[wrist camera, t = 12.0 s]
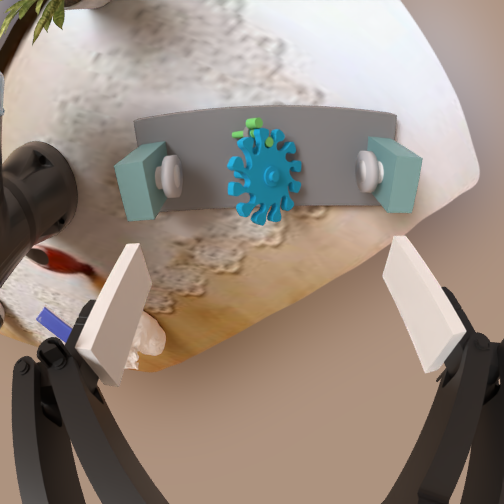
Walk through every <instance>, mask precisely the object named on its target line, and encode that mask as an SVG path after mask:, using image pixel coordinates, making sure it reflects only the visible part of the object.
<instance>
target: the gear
mask: <svg viewBox="0 0 504 504" xmlns="http://www.w3.org/2000/svg"><path fill="white" fill-rule="evenodd" d="M262 125H263V121H262V119H261V118H259V117H258V118H251V119H247V120H246V127H245V128H244V130H243V131H237V132H233V133H232V137H233V138H241V139H240V140H238V141H237V145H238V147H239V148H240V149H241V150H242V152H243V153H244V155H245V159H246V168H245V167H244V163H243V160H242V158H241V157H238V156H234V157H231V158H230V160H229V162H228V164H227V168H228V169H229V170H231V171H234V177H235V178H239V179H244V180H245V184H244V186H242V184H241V183H239V182H229V183H228V195H230V196H239V195H241V194H243V193H248V194H249V195H250V200H249V202H248V203H243V202H240V203H238V204H237V205H236V209H237V212H238V214H239V215H240V216H243V217H248V216H249V215H250V213H251V211H252V210H253V208H254V207H255V206H256V205H258V204H260V209H259V211H257V212H255V213H253V215H252V216H251V221H252V222H254V223H256V224H258V225H262V226H263V225H264V224H265V222H266V215H267V212H268V210H269V208H270V206H271V205H272V208H271V210H270V212H269V213H268V216H267V219H268V220H269V221H273V222H279V221H281V213H280V202H281V209H282V210H286V211H289V210H291V209H292V208H293V206H294V202H293V200H292V199H291V198H290V196H289V193H288V187H289V191H290V192H294V193H298V192H299V190H300V187H301V183H300V182H299V181H295V180H294V179H293V178H292V177H291V175H290V173H289V170H291V171H292V172H301V161H295V160H293V161H291V162H288V161H287V160H286V157H285V156H286V153H289V154H294V153H295V152H296V147H295V144H294V142H285V143H284V145H283V147H282V148H281V149H280V150H277V143H278V142H280V141H283V140H284V138H285V135H284V133H283V132H282V131H281V130H280V129H273V130H272V131H271V134H270V137H268V136H269V130H268V129H266V128H261V127H262ZM281 198H282V201H281Z"/></svg>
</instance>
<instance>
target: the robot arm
mask: <svg viewBox="0 0 504 504" xmlns="http://www.w3.org/2000/svg"><path fill="white" fill-rule="evenodd" d="M3 94H4V77H3V74H2V73H1V72H0V288H1V287H2V285H3V284H4V282H5V281H6V280H7V278H8V277H9V276H10V274H11V273H12V272H13V270H14V269H15V268H16V266H17V265H18V264H19V262H20V261H21V260H22V259H23V257H24V256H25V255H26V254H27V252H28V251H29V250H30V249H31V248H32V247H33V246H34V245H36V244H38V243H40V242H42V241H44V240H46V239H48V238H51V237H53V236H55V235H57V234H58V233H60V232H61V231H62V230H63V229H64V228H65V227H66V226H67V225H68V224H69V222H70V221H71V220H72V218H73V216H74V214H75V211H76V207H77V187H76V183H75V179H74V176H73V173H72V171H71V169H70V167H69V165H68V163H67V162H66V160H65V159H64V157H63V156H62V155H61V154H60V153H59V152H58V151H57V150H56V149H55V148H53V147H52V146H50V145H49V144H46V143H44V142H39V141H33V142H29V143H26V144H24V145H23V146H21V147H19V148H17V149H16V150H14V151H13V152H12V153H11V154H10V155H9V157H8V158H7V159H6V160H5V162H4V163H3V164H2V115H4V109H3ZM382 277H383V279H384V281H385V283H386V284H387V287H388V289H389V291H390V293H391V295H392V297H393V299H394V301H395V303H396V305H397V307H398V310H399V312H400V314H401V316H402V318H403V321H404V323H405V325H406V328H407V330H408V332H409V334H410V337H411V339H412V342H413V344H414V347H415V349H416V352H417V354H418V357H419V359H420V362H421V364H422V367H423V369H424V372H425V373H428V372H432V371H436V370H438V369H439V368H440V367H441V365H442V364H443V363H445V366H446V369H445V370H444V371H443V372H442V374H441V375H440V376H439V377H438V378H437V380H436V382H438V381H439V380H440V379H441V382H440V384H439V387H438V390H437V393H436V396H435V399H434V402H433V405H432V407H431V409H430V412H429V415H428V417H427V420H426V422H425V424H424V427H423V429H422V431H421V434H420V436H419V438H418V440H417V442H416V444H415V447H414V449H413V451H412V453H411V455H410V457H409V459H408V461H407V463H406V465H405V467H404V468H403V470H402V472H401V474H400V475H399V477H398V479H397V481H396V482H395V484H394V486H393V487H392V489H391V491H390V493H389V494H388V496H387V497H386V499H385V500H384V501H383V502H382V503H381V504H449V499H450V497H451V495H452V493H453V491H454V489H455V486H456V484H457V482H458V479H459V477H460V475H461V472H462V470H463V467H464V464H465V462H466V459H467V456H468V453H469V450H470V447H471V454H470V460H469V466H468V472H467V477H466V481H465V486H464V490H463V495H462V499H461V503H460V504H504V339H503V340H502V342H501V343H495V342H490V340H489V339H488V338H487V337H486V336H485V335H484V334H482V333H478V332H477V333H476V332H475V330H474V329H473V327H472V325H471V323H470V321H469V320H468V318H467V316H466V314H465V313H464V311H463V310H462V309H461V306H460V304H459V303H458V301H457V299H456V298H455V296H454V295H453V293H452V292H451V291H450V290H448V289H447V288H446V287H441V286H440V285H439V284H438V282H437V280H436V279H435V277H434V276H433V274H432V273H431V271H430V270H429V268H428V267H427V265H426V264H425V262H424V261H423V259H422V258H421V256H420V255H419V253H418V252H417V251H416V249H415V248H414V247H413V245H412V244H411V242H410V241H409V240H408V238H407V237H406V236H394V237H393V241H392V245H391V248H390V252H389V255H388V259H387V262H386V265H385V269H384V272H383V276H382ZM151 286H152V281H151V278H150V275H149V272H148V269H147V265H146V262H145V259H144V256H143V252H142V249H141V246H140V243H135V244H127V245H126V246H125V248H124V250H123V251H122V253H121V255H120V257H119V259H118V260H117V262H116V264H115V266H114V268H113V269H112V271H111V273H110V275H109V277H108V279H107V281H106V283H105V284H104V286H103V288H102V290H101V292H100V294H99V296H98V298H97V300H90V301H89V302H88V303H87V304H86V305H85V306H84V307H83V308H82V310H81V312H80V314H79V318H77V320H76V322H75V325H74V327H73V329H72V331H71V333H70V335H69V337H68V339H67V342H66V344H65V345H64V344H63V343H62V341H61V340H60V339H58V338H57V337H51V338H48V339H46V340H45V341H43V342H42V343H41V345H40V346H39V348H38V351H37V357H38V359H39V360H40V361H41V362H38V363H36V362H35V361H34V360H33V359H32V358H31V357H29V356H24V357H22V358H20V359H19V360H18V361H17V362H16V364H15V366H14V370H13V382H12V432H13V447H14V457H15V465H16V472H17V479H18V484H19V490H20V495H21V499H22V504H86V503H85V500H84V496H83V493H82V489H81V486H80V482H79V478H78V474H77V471H76V466H75V462H74V457H73V452H72V447H71V442H72V444H73V447H74V449H75V451H76V454H77V456H78V458H79V460H80V462H81V464H82V467H83V469H84V471H85V473H86V475H87V477H88V479H89V481H90V482H91V484H92V486H93V488H94V490H95V491H96V493H97V495H98V497H99V499H100V500H101V502H102V504H169V503H168V502H167V500H166V499H165V498H164V496H163V495H162V494H161V492H160V491H159V490H158V488H157V487H156V486H155V484H154V483H153V481H152V480H151V479H150V477H149V476H148V474H147V473H146V471H145V470H144V468H143V467H142V465H141V464H140V463H139V461H138V459H137V458H136V456H135V454H134V453H133V451H132V449H131V448H130V446H129V444H128V443H127V441H126V439H125V438H124V436H123V434H122V432H121V430H120V428H119V427H118V425H117V423H116V421H115V419H114V417H113V415H112V413H111V411H110V409H109V408H108V406H107V403H106V402H105V399H104V397H103V395H102V393H101V391H100V389H99V387H98V386H97V382H98V379H100V380H101V381H102V382H103V384H105V385H109V386H116V387H119V386H120V382H121V379H122V375H123V372H124V368H125V365H126V362H127V358H128V355H129V352H130V348H131V345H132V342H133V339H134V336H135V333H136V329H137V326H138V323H139V320H140V317H141V314H142V312H143V309H144V306H145V303H146V300H147V297H148V294H149V292H150V289H151ZM499 379H500V385H499V381H498V380H499ZM70 440H71V441H70Z"/></svg>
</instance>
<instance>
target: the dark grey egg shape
mask: <svg viewBox="0 0 504 504" xmlns="http://www.w3.org/2000/svg"><path fill="white" fill-rule="evenodd" d="M4 317H5V312H4V308H3V306H2V304H1V302H0V328H1V327H2V325H3V321H4Z"/></svg>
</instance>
